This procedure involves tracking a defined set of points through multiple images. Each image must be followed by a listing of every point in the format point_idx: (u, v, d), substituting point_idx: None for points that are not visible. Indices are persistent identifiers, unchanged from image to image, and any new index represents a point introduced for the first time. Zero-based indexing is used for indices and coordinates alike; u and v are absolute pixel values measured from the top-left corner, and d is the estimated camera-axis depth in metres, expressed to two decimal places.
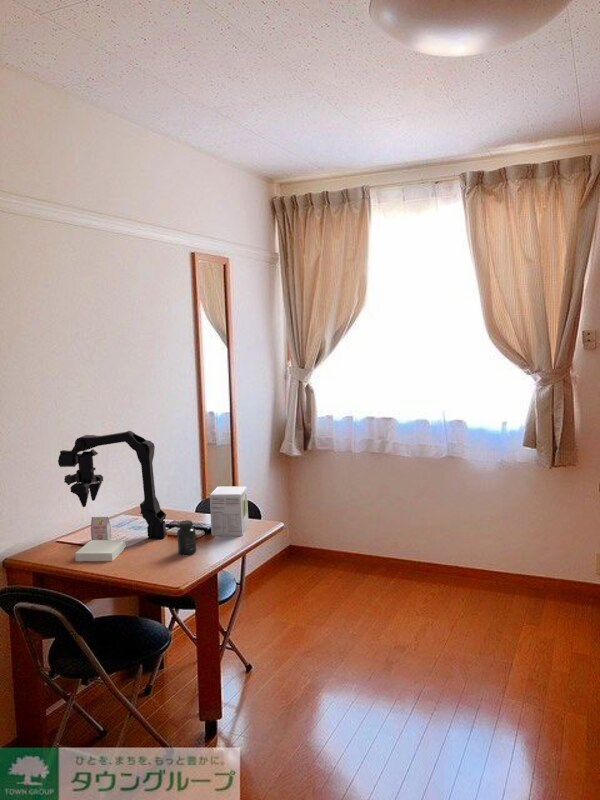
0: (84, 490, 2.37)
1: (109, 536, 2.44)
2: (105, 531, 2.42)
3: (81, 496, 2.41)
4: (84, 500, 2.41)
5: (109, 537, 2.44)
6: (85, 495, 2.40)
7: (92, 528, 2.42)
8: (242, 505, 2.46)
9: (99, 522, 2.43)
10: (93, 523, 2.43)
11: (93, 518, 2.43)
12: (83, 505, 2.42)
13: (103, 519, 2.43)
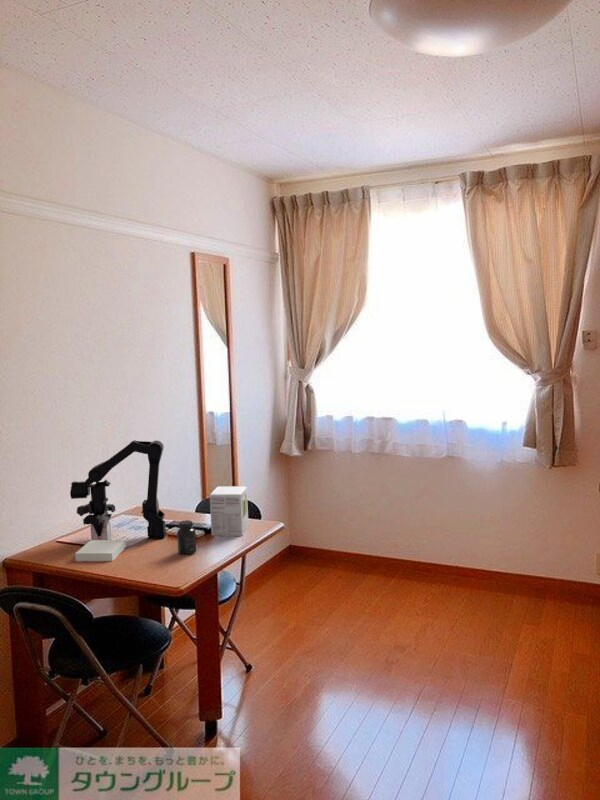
0: (97, 522, 2.34)
1: (109, 536, 2.44)
2: (105, 531, 2.42)
3: (96, 525, 2.40)
4: (99, 530, 2.41)
5: (109, 537, 2.44)
6: (100, 525, 2.40)
7: (92, 528, 2.42)
8: (242, 505, 2.46)
9: None
10: None
11: None
12: (98, 534, 2.42)
13: (103, 519, 2.43)
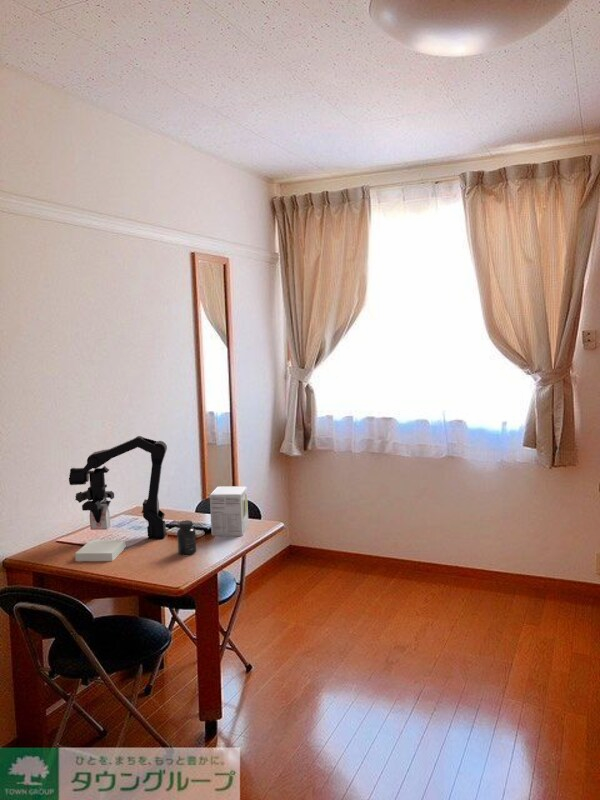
0: (96, 508, 2.33)
1: (108, 523, 2.43)
2: (103, 519, 2.41)
3: (95, 512, 2.40)
4: (98, 516, 2.40)
5: (108, 524, 2.43)
6: (99, 511, 2.39)
7: (91, 515, 2.42)
8: (242, 505, 2.46)
9: None
10: None
11: None
12: (97, 521, 2.41)
13: None
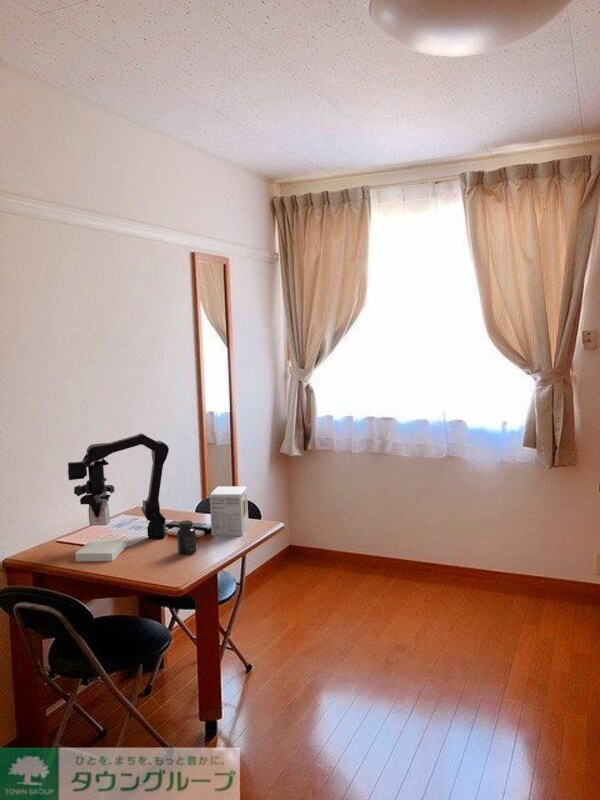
0: (94, 502, 2.26)
1: (107, 519, 2.36)
2: (103, 514, 2.34)
3: (94, 506, 2.33)
4: (97, 510, 2.33)
5: (107, 520, 2.36)
6: (98, 505, 2.32)
7: (90, 511, 2.35)
8: (242, 505, 2.46)
9: None
10: None
11: None
12: (96, 515, 2.34)
13: None
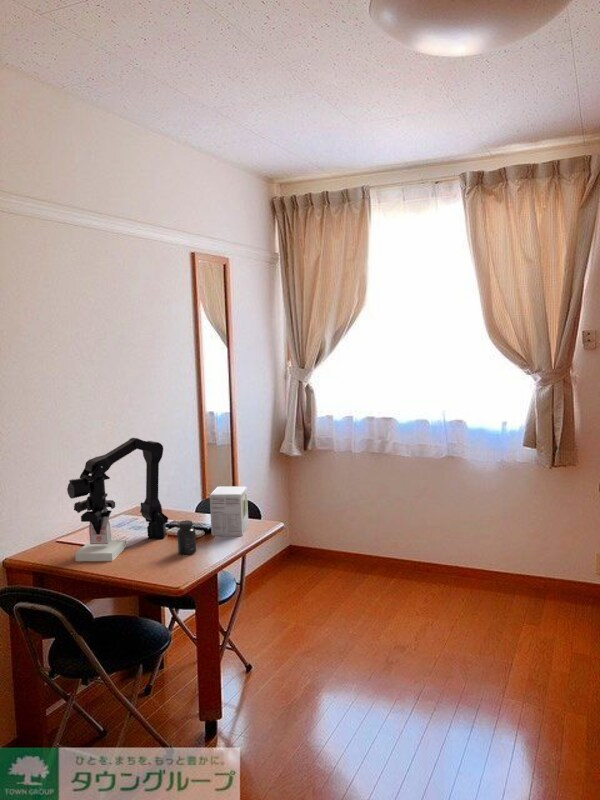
0: (96, 519, 2.18)
1: (109, 537, 2.28)
2: (104, 533, 2.26)
3: (95, 523, 2.25)
4: (98, 527, 2.25)
5: (109, 539, 2.28)
6: (99, 522, 2.24)
7: (91, 529, 2.26)
8: (242, 505, 2.46)
9: None
10: None
11: None
12: (97, 532, 2.26)
13: None
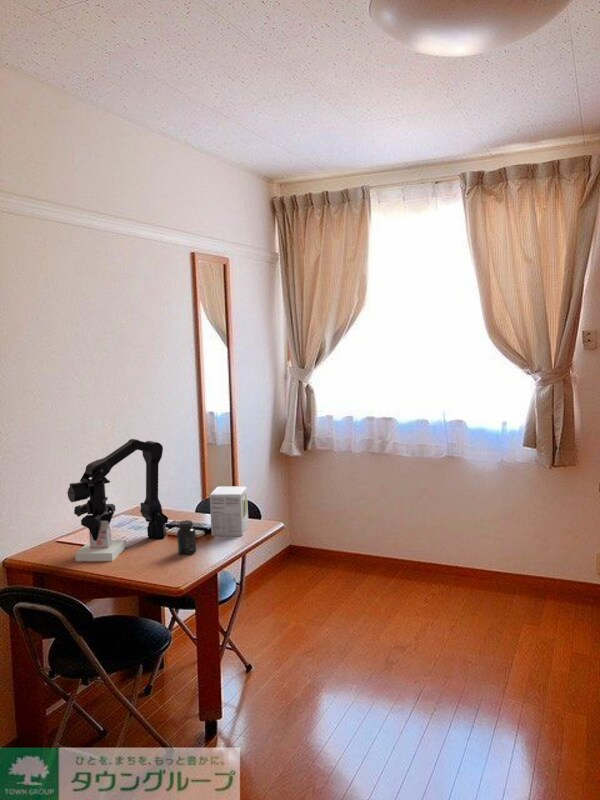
0: (96, 523, 2.18)
1: (109, 541, 2.28)
2: (104, 536, 2.26)
3: (92, 529, 2.22)
4: (95, 533, 2.22)
5: (109, 542, 2.28)
6: (97, 528, 2.21)
7: None
8: (242, 505, 2.46)
9: None
10: None
11: None
12: (94, 539, 2.23)
13: (103, 523, 2.27)
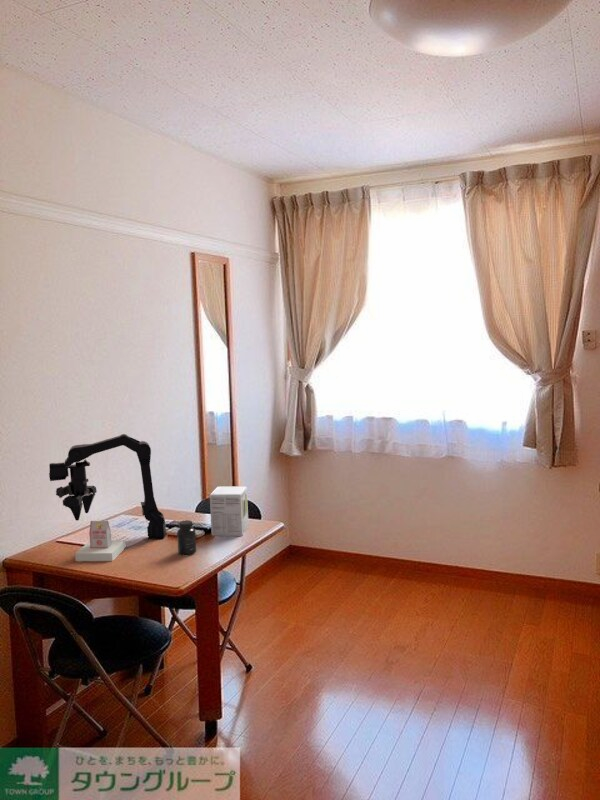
0: (77, 503, 2.27)
1: (109, 541, 2.28)
2: (104, 536, 2.26)
3: (74, 509, 2.30)
4: (77, 513, 2.31)
5: (109, 542, 2.28)
6: (78, 508, 2.30)
7: (91, 533, 2.27)
8: (242, 505, 2.46)
9: (98, 526, 2.27)
10: (92, 527, 2.27)
11: (92, 522, 2.28)
12: (76, 518, 2.32)
13: (103, 523, 2.27)
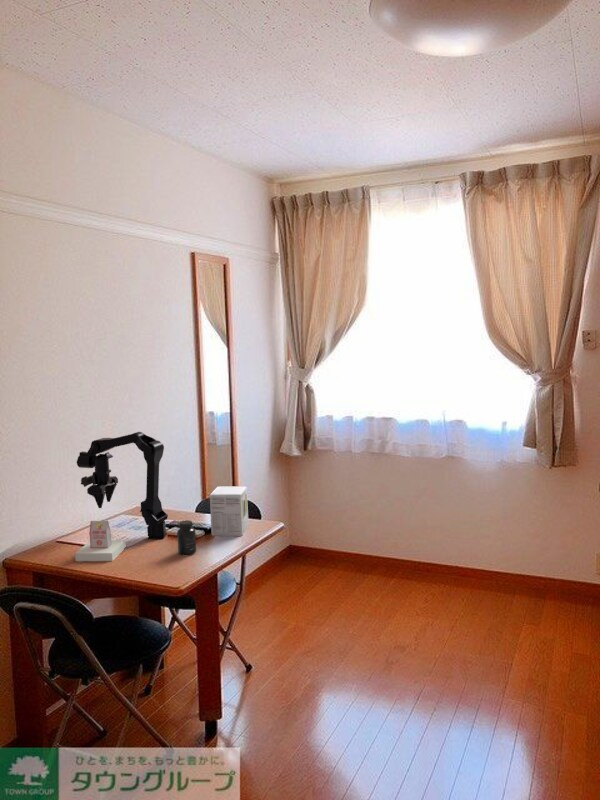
0: (100, 492, 2.43)
1: (109, 541, 2.28)
2: (104, 536, 2.26)
3: (97, 497, 2.47)
4: (100, 501, 2.47)
5: (109, 542, 2.28)
6: (101, 496, 2.46)
7: (91, 533, 2.27)
8: (242, 505, 2.46)
9: (98, 526, 2.27)
10: (92, 527, 2.27)
11: (92, 522, 2.28)
12: (99, 506, 2.48)
13: (103, 523, 2.27)
